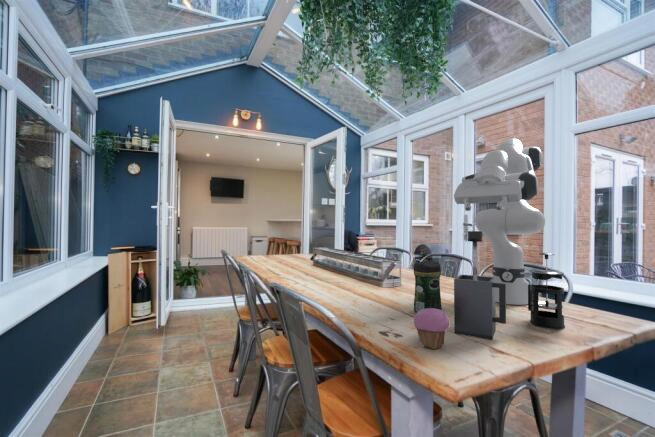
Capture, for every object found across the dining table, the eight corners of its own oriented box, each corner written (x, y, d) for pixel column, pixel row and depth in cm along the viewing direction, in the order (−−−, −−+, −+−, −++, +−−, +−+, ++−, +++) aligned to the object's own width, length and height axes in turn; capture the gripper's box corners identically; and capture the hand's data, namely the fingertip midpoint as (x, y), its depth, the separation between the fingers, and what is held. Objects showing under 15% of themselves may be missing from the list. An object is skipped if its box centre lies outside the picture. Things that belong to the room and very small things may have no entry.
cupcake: (454, 346, 84) (454, 308, 84) (441, 356, 77) (441, 315, 78) (422, 338, 90) (422, 302, 90) (407, 346, 83) (407, 308, 83)
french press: (575, 328, 99) (574, 254, 99) (550, 331, 96) (549, 254, 97) (541, 317, 110) (540, 251, 110) (518, 319, 108) (518, 251, 108)
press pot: (460, 324, 102) (460, 274, 102) (507, 332, 95) (506, 278, 95) (454, 333, 94) (454, 278, 94) (504, 342, 87) (504, 283, 87)
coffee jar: (429, 308, 122) (429, 259, 123) (445, 313, 115) (445, 261, 116) (409, 310, 118) (409, 260, 118) (424, 316, 111) (424, 263, 111)
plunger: (463, 282, 101) (463, 230, 101) (490, 285, 97) (490, 231, 97) (459, 286, 94) (459, 231, 95) (487, 289, 90) (487, 231, 91)
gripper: (526, 187, 105) (521, 215, 98) (461, 191, 118) (453, 216, 111) (523, 171, 102) (518, 199, 94) (457, 177, 115) (448, 202, 107)
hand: (482, 208), depth 102 cm, fingers open, 8 cm apart
